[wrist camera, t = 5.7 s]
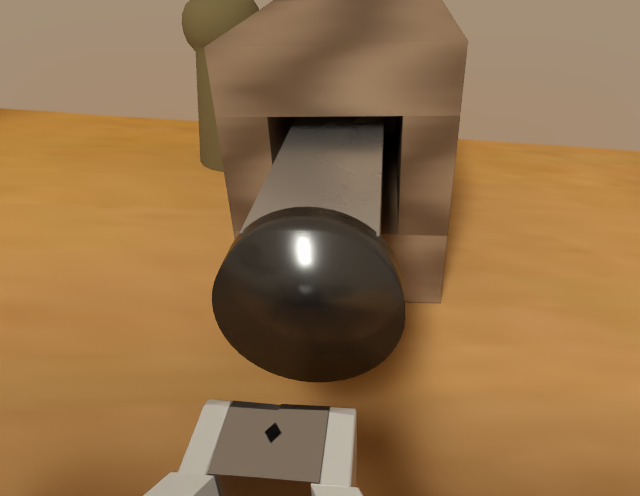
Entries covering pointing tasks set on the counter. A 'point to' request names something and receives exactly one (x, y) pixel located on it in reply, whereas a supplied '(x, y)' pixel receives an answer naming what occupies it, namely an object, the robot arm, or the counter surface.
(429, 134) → the block
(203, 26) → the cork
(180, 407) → the counter surface
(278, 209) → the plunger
